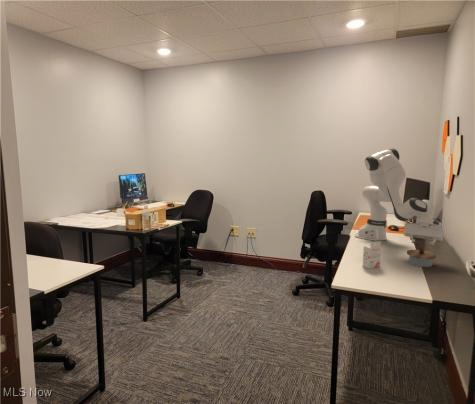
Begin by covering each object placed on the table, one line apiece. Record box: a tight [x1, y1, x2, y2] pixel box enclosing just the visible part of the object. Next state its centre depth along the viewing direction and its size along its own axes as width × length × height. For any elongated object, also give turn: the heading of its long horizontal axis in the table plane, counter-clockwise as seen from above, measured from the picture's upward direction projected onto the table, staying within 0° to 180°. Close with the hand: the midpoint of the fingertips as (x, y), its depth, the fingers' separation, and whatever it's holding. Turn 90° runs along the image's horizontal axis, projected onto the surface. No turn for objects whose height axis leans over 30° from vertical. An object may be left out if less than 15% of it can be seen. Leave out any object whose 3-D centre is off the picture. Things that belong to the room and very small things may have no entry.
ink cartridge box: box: [362, 240, 382, 269], centre depth 189 cm, size 9×5×15 cm, turn 117°
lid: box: [406, 238, 437, 260], centre depth 196 cm, size 15×15×9 cm
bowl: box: [408, 255, 434, 268], centre depth 197 cm, size 12×12×5 cm
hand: (422, 243), depth 196 cm, fingers open, 8 cm apart
